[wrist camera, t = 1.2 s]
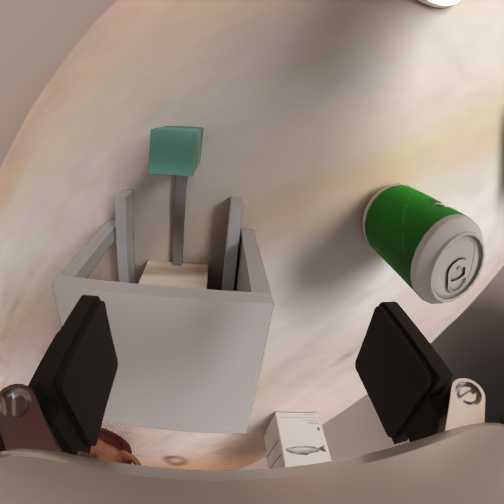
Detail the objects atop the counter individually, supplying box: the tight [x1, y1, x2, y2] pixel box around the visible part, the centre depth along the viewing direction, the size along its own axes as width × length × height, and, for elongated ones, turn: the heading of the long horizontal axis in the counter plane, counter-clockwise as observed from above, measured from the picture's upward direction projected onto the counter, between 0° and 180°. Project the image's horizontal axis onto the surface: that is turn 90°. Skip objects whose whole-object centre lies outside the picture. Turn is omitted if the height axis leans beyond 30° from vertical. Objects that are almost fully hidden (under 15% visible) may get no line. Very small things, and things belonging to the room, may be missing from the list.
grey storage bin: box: [52, 190, 274, 434], centre depth 25 cm, size 18×14×12 cm
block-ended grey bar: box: [138, 126, 208, 289], centre depth 25 cm, size 19×6×7 cm, turn 173°
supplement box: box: [264, 412, 332, 469], centre depth 38 cm, size 7×7×13 cm
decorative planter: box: [77, 429, 141, 466], centre depth 37 cm, size 20×12×14 cm, turn 125°
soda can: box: [362, 184, 485, 304], centre depth 24 cm, size 8×8×12 cm
